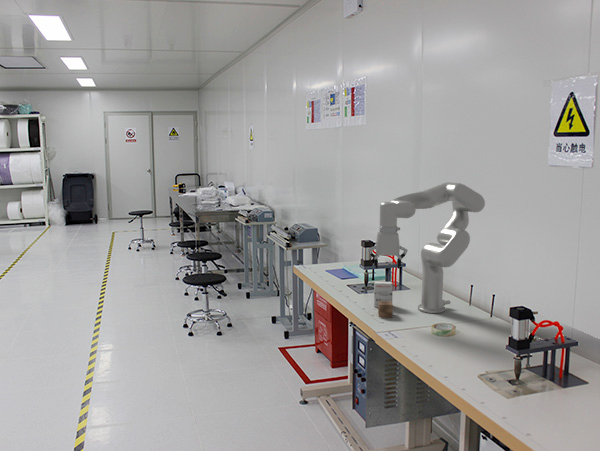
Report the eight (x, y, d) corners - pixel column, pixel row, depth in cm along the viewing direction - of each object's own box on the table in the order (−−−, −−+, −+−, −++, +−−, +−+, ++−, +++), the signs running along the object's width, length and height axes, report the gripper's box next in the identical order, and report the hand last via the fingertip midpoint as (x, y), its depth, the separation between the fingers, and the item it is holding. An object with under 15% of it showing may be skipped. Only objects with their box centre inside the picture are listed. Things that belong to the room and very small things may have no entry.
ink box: (391, 305, 261) (392, 281, 259) (392, 307, 256) (392, 283, 254) (373, 304, 262) (374, 280, 260) (373, 307, 257) (374, 283, 255)
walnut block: (391, 313, 247) (391, 301, 246) (392, 318, 241) (392, 305, 240) (378, 313, 247) (378, 301, 246) (378, 317, 241) (379, 304, 241)
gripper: (406, 228, 240) (405, 266, 242) (367, 228, 241) (367, 265, 243) (409, 231, 232) (408, 269, 235) (369, 231, 233) (368, 269, 236)
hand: (387, 267), depth 239 cm, fingers open, 9 cm apart
